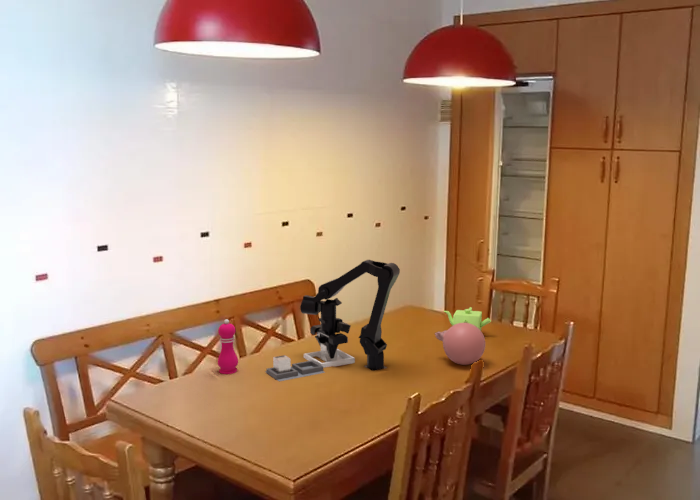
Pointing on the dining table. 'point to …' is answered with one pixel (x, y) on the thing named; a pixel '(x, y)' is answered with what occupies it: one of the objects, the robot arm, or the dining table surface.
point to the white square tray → (341, 360)
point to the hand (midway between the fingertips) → (328, 356)
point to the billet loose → (326, 353)
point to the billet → (281, 364)
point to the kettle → (468, 317)
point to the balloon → (462, 343)
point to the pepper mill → (227, 349)
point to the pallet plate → (297, 371)
